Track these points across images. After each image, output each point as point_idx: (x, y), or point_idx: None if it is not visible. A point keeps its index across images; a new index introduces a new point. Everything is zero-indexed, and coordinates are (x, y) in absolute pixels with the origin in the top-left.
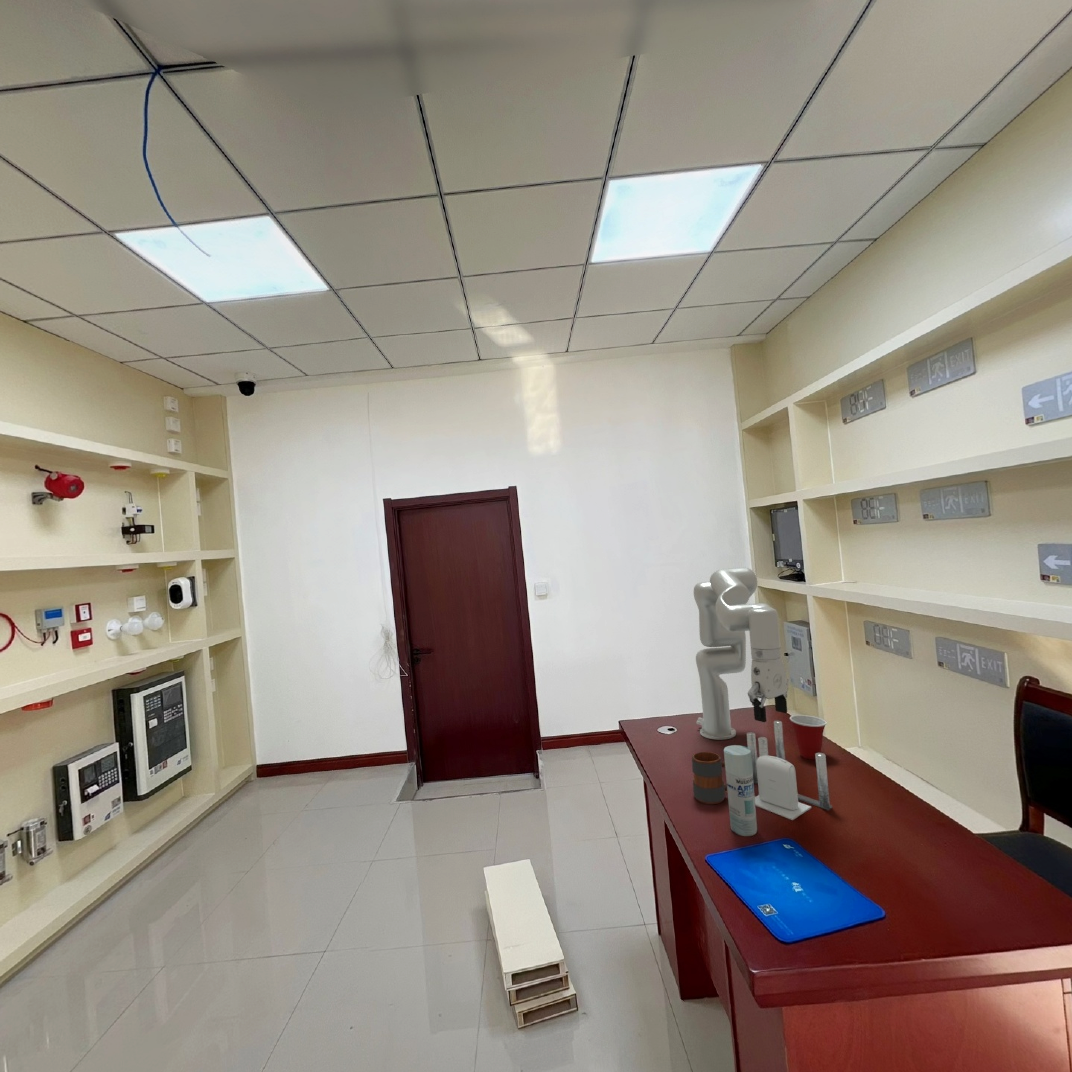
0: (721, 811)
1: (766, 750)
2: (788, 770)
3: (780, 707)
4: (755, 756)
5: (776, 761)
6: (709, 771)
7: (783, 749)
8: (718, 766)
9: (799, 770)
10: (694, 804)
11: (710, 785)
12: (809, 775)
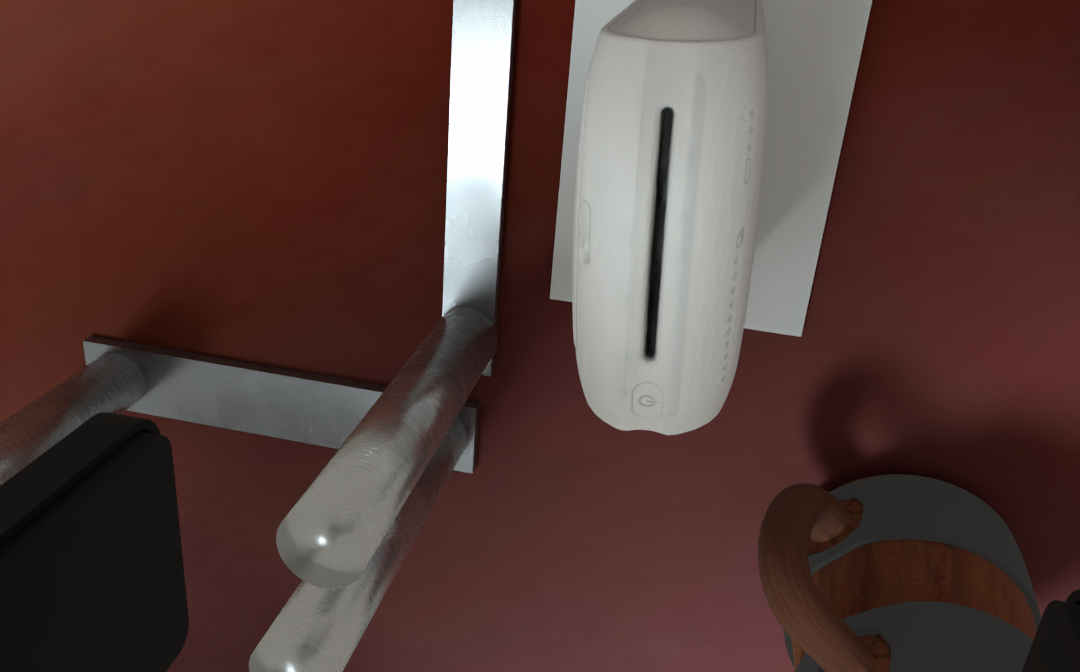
0: (1054, 419)
1: (376, 449)
2: (751, 42)
3: (110, 604)
4: None
5: (716, 215)
6: None
7: (33, 410)
8: (965, 665)
9: (89, 253)
10: (1053, 598)
11: (1020, 602)
12: (104, 165)
